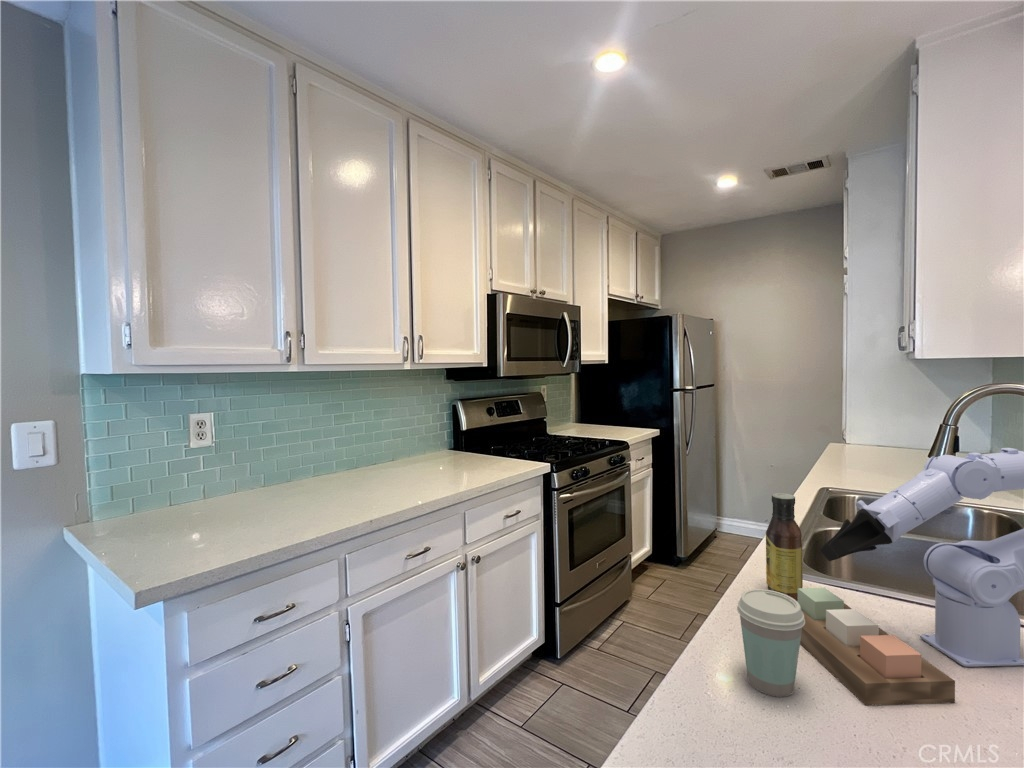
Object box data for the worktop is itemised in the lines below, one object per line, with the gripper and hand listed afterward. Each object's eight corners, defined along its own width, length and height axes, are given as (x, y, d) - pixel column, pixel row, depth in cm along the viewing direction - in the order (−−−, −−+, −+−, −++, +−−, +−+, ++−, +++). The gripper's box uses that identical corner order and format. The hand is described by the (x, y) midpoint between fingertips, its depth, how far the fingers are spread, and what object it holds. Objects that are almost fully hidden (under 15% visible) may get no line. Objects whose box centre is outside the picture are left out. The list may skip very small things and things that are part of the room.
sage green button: (824, 609, 85) (824, 587, 85) (843, 624, 80) (843, 600, 80) (797, 610, 85) (797, 588, 85) (815, 625, 80) (815, 601, 80)
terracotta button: (892, 661, 70) (892, 634, 70) (921, 683, 65) (921, 654, 65) (860, 662, 70) (860, 635, 70) (885, 684, 65) (886, 655, 65)
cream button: (855, 633, 78) (855, 608, 78) (878, 651, 73) (878, 624, 73) (825, 634, 78) (825, 609, 77) (846, 651, 73) (847, 625, 73)
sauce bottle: (773, 584, 100) (772, 488, 99) (807, 594, 95) (807, 494, 94) (760, 594, 95) (760, 495, 95) (795, 605, 91) (795, 501, 90)
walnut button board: (840, 617, 86) (840, 600, 86) (954, 702, 64) (955, 680, 64) (774, 619, 86) (773, 602, 86) (865, 705, 64) (865, 683, 64)
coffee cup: (815, 707, 64) (815, 618, 64) (746, 700, 66) (746, 613, 65) (792, 667, 72) (791, 589, 72) (731, 662, 74) (730, 585, 74)
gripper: (871, 494, 84) (803, 536, 85) (898, 475, 71) (817, 524, 73) (907, 531, 80) (834, 574, 81) (941, 517, 68) (855, 567, 69)
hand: (828, 553), depth 77 cm, fingers open, 7 cm apart
